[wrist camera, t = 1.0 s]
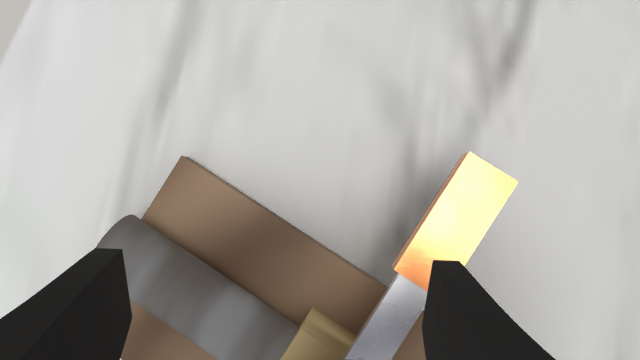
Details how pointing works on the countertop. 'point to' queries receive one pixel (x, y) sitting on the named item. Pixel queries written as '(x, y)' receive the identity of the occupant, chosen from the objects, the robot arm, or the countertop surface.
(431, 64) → the countertop surface
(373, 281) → the valve board
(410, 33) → the countertop surface
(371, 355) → the valve lever
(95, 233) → the countertop surface
